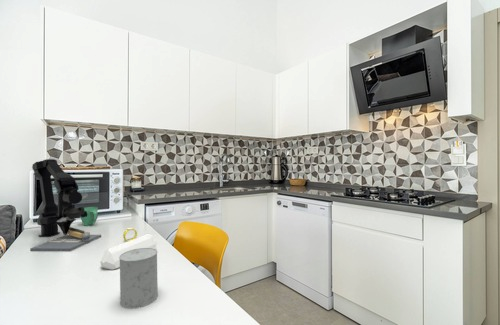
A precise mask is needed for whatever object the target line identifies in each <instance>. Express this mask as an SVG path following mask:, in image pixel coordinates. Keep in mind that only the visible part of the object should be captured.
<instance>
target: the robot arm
mask: <svg viewBox="0 0 500 325" xmlns="http://www.w3.org/2000/svg"><path fill="white" fill-rule="evenodd" d="M31 168H32V171H33V173H34V175H35V176H36V177H37V178H38V180H39V186H40V191H41V200H42V207H41V209H40V210H39V215H38V218H37V220H36V223H37V225H38V226H40V231H41V232H40V234H39V235H38V237H39V238H41V237H43V238H44V237H45V238H49V237H50V238H51V237H53V236H56V235H60V233H61V232H62V234H63V236H65V235H68V234H67V233H68V230H69V228H70V227H71V226H72V224H73V222H75V221H77V219H81V218H80V216H81V217H87V216H88V213H87V212H86V211H84V208H85V207H83V206H80V207H77V208H76V206H75V204H76V205H78V204H80V202H82V200H83V195H82V192H80V191H78V190H79V185H78V183H77V180H75V178H74V176H72V175H71V174H69V173H66V172H65V171H64V170H63V169H62V167H61V166H60V164H58V161H57V159H53V158H52V159H51V158H49V159H48V158H47V159H43V160H40V161H35V162H34V163H33V164H32V167H31ZM51 178H53V179H54V182H52V179H51ZM52 183H53V184H52ZM53 185H54V187H55V189H56V193H57V203H55V196H54V190H53V189H54V188H53ZM59 228H60V230H61V232H59Z"/></svg>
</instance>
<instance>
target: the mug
mask: <svg viewBox="0 0 500 325" xmlns="http://www.w3.org/2000/svg"><path fill="white" fill-rule="evenodd" d="M98 209H99V207H98V206H87V207H84V211H86V212H87V213H88V216H87V217H81V216H80V218H79V219H80V220H81V222H82V225H83V226H84V227H88V226H89V227H90V226H93V225H94V224H95V223H96V222H97V220H98V217H99V216H98V215H99V214H98Z"/></svg>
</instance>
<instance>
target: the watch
mask: <svg viewBox="0 0 500 325" xmlns="http://www.w3.org/2000/svg"><path fill="white" fill-rule="evenodd" d="M129 231H134V236H133V238H131V239H127V238H126V234H127V232H129ZM137 236H138V231H137V230H136V229H135V228H134V227H128V228H126V230H124V232H123V236H122V237H123V239H124V240H125V242H128V241H131V240H133V239H136V238H137Z"/></svg>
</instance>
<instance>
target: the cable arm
mask: <svg viewBox="0 0 500 325" xmlns="http://www.w3.org/2000/svg"><path fill="white" fill-rule="evenodd" d="M67 235H72V236H75V237H78V238H82V239H88V238H90V235H91V232H89V231H86V230H83V229H78V228H74V227H71V226H70V228H69V230H68V233H67Z"/></svg>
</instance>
